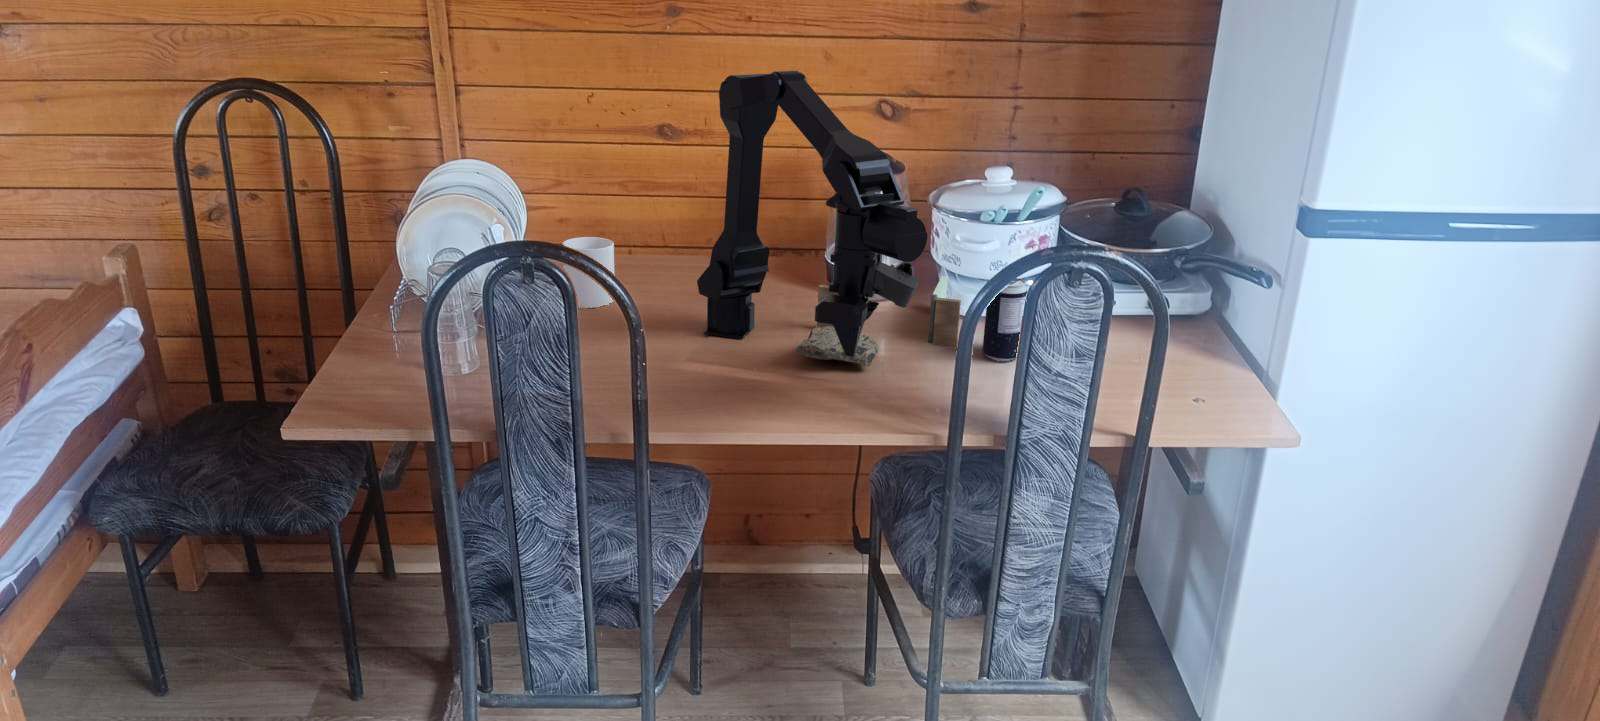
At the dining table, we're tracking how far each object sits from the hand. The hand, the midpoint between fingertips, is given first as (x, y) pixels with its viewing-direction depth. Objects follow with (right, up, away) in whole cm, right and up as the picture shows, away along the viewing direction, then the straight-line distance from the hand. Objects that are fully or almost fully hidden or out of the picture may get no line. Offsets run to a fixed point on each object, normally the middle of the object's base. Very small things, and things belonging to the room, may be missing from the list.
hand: (850, 355), depth 158 cm
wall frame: (+6, +3, +21) cm, 22 cm away
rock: (+2, -3, +9) cm, 10 cm away
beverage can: (+23, 0, +15) cm, 28 cm away
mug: (-42, +9, +35) cm, 55 cm away
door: (+15, +5, +25) cm, 30 cm away
